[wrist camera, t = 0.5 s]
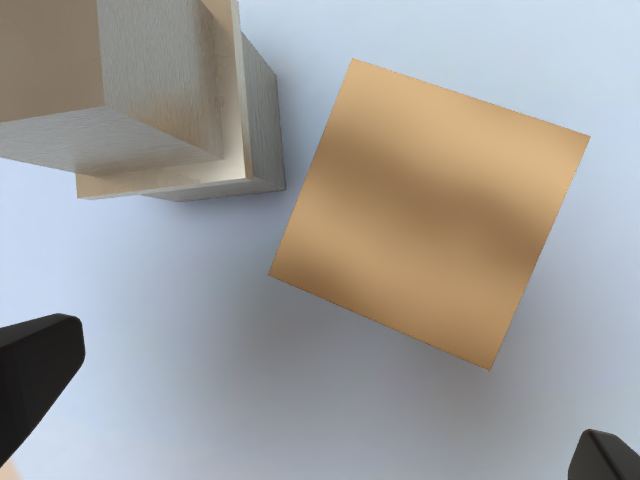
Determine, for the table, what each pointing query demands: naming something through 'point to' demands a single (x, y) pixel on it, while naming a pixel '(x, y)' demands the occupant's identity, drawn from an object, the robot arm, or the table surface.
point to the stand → (427, 210)
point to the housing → (139, 97)
